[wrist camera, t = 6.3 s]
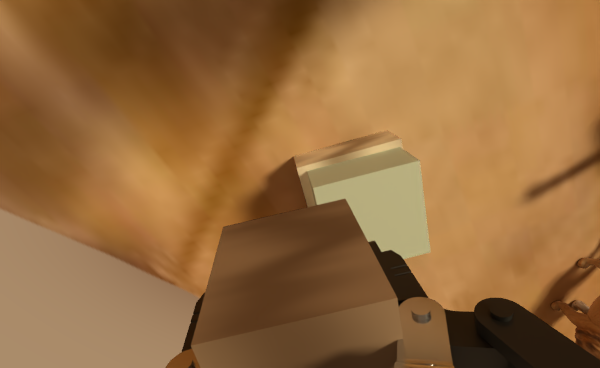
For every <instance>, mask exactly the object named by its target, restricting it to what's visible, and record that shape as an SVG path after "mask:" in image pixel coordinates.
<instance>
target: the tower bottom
mask: <svg viewBox="0 0 600 368" xmlns="http://www.w3.org/2000/svg"><path fill="white" fill-rule="evenodd" d="M398 147H401V148H402V149H403V146H402V140H401V138H399V137H398V136H396V135H394V134H393V133H391V132H389V131H388V130H385V131H382V132H378V133H375V134H371V135H368V136H364V137H361V138H357V139H353V140H350V141H346V142H343V143H339V144H336V145H332V146H329V147H325V148H321V149H318V150H314V151H311V152H307V153H304V154H300V155H296V156H294V160H295V164H296V168H297V171H298V175H299V178H300V182H301V185H302V189H303V192H304V196H305V199H306V203H307V206H308V207H311V206H315V201H314V197H313V193H312V189H311V185H310V181H309V177H308V173H307V171H309V170H313V169H316V168H320V167H324V166H328V165H332V164H336V163H340V162H344V161H347V160H351V159H355V158H359V157H363V156H367V155H371V154H374V153H378V152H382V151H386V150H390V149H394V148H398Z"/></svg>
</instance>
